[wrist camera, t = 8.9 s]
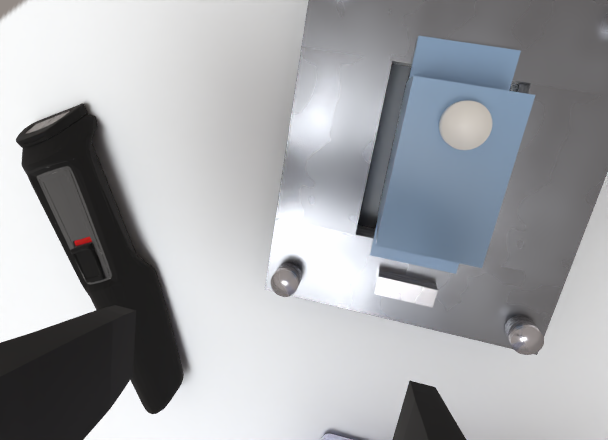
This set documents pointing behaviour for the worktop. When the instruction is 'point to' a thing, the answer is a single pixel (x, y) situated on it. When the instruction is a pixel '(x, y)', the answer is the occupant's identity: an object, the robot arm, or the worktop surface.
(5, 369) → the robot arm
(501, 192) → the servo
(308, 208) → the plate
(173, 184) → the worktop surface
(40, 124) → the electric trimmer
